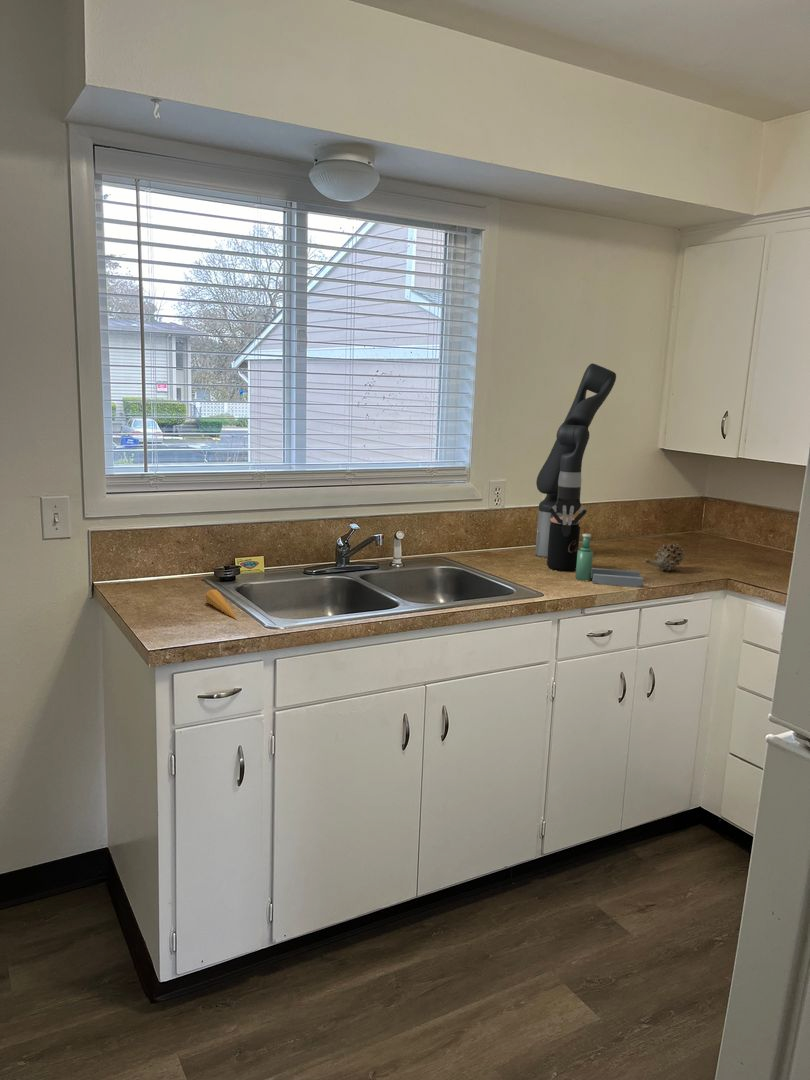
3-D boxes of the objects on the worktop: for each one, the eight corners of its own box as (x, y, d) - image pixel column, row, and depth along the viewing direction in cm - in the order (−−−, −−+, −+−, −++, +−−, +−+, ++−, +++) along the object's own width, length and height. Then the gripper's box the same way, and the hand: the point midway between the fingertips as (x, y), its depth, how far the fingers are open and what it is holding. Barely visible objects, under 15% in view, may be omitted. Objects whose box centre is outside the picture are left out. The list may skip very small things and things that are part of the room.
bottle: (575, 580, 279) (579, 535, 276) (575, 576, 284) (578, 532, 281) (591, 581, 278) (595, 536, 275) (590, 578, 283) (594, 533, 280)
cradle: (592, 583, 275) (593, 575, 275) (591, 576, 286) (591, 567, 285) (642, 587, 273) (643, 578, 272) (638, 579, 283) (639, 571, 283)
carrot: (206, 604, 235) (201, 591, 233) (221, 597, 237) (215, 584, 235) (232, 630, 219) (226, 617, 217) (247, 622, 221) (241, 609, 219)
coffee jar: (570, 573, 288) (574, 523, 285) (541, 568, 294) (545, 519, 290) (580, 568, 297) (585, 519, 294) (553, 563, 303) (556, 515, 299)
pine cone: (664, 565, 309) (667, 539, 307) (688, 569, 302) (691, 543, 300) (634, 573, 293) (637, 545, 291) (659, 578, 287) (662, 550, 285)
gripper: (549, 485, 273) (546, 536, 277) (590, 487, 271) (586, 538, 275) (549, 482, 281) (546, 532, 284) (588, 484, 279) (585, 535, 282)
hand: (566, 535), depth 279 cm, fingers closed
